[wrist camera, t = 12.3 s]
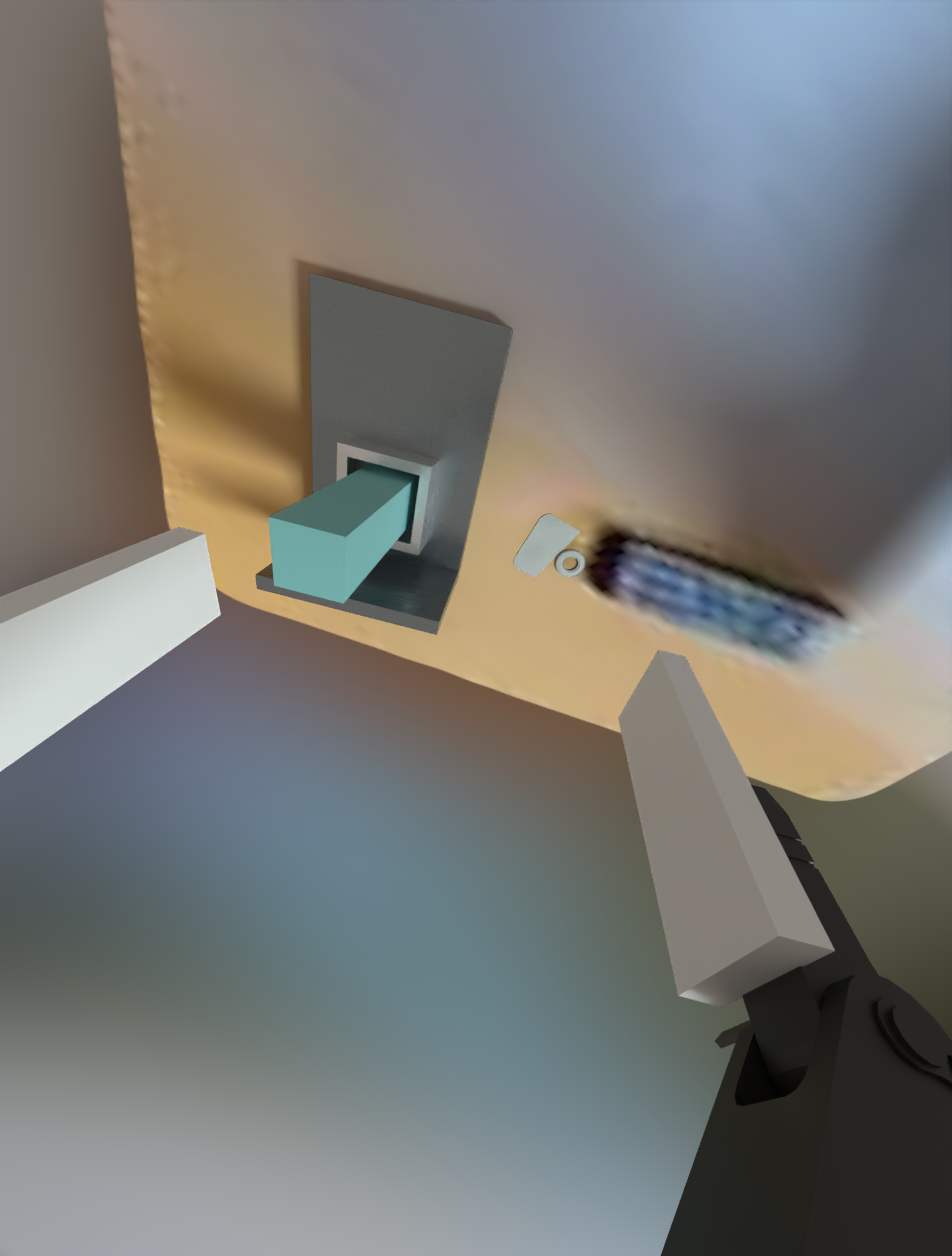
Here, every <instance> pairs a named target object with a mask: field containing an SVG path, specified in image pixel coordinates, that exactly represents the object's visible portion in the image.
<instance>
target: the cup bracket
mask: <svg viewBox="0 0 952 1256" xmlns="http://www.w3.org/2000/svg"><path fill="white" fill-rule="evenodd" d="M512 332H513V329H512V328H510V327H506V326H503V325H499V324H495V323H492V322H488V321H484V320H481V319H477V318H473V317H470V316H466V315H462V314H459V313H455V312H451V311H448V310H444V309H440V308H437V307H433V306H429V305H426V304H422V303H419V302H415V301H411V300H408V299H404V298H400V297H397V296H393V295H389V294H386V293H382V292H378V291H375V290H371V289H367V288H364V287H360V286H356V285H353V284H349V283H345V282H342V281H338V280H335V279H331V278H327V277H324V276H320V275H316V274H313V273H310V337H311V413H312V488H313V493H315V492H317V491H319V490H321V489H323V488H325V487H327V486H329V485H331V484H333V483H334V482H336V481H338V480H340V479H342V478H344V477H346V476H348V475H350V474H352V473H354V472H356V471H357V470H359V469H361V468H363V467H365V466H367V465H369V464H371V463H374V464H377V465H381V466H385V467H389V468H393V469H396V470H400V471H404V472H408V473H411V474H415V475H419V477H418V485H417V492H416V499H415V507H414V514H413V522H412V523H411V524H410V525H409V526H408V528H407V529H406V530H405V531H404V532H403V534H402V535H401V536H400V537H399V538H398V539H397V541H396V542H395V543H394V544H393V545H392V547H391V548H390V549H389V550H388V551H387V553H386V554H385V555H384V556H383V557H382V558H381V560H380V561H379V562H378V563H377V564H376V566H375V567H374V568H373V569H372V570H371V572H370V573H369V574H368V575H367V576H366V577H365V579H364V580H363V581H362V582H361V583H360V585H359V586H358V587H357V588H356V589H355V591H354V592H353V593H352V594H351V595H350V597H349V598H348V599H347V600H346V601H345V602H344V604H343V603H339V602H336V601H332V600H328V599H324V598H320V597H316V596H312V595H308V594H304V593H301V592H297V591H293V590H289V589H285V588H281V587H277V586H274V579H273V566H272V563H271V564H270V565H268V566H267V567H266V568H264V569H263V570H261V571H260V572H259V573H257V574H256V584H257V589H260V590H264V591H268V592H272V593H276V594H280V595H284V596H288V597H291V598H295V599H299V600H303V601H307V602H311V603H315V604H319V605H323V606H326V607H330V608H334V609H338V610H342V611H346V612H350V613H354V614H358V615H361V616H365V617H369V618H373V619H377V620H381V621H385V622H389V623H393V624H396V625H400V626H404V627H408V628H412V629H416V630H420V631H424V632H428V633H431V634H435V635H437V633H438V630H439V627H440V625H441V622H442V619H443V617H444V614H445V611H446V609H447V606H448V603H449V601H450V598H451V595H452V593H453V590H454V587H455V585H456V583H457V580H458V577H459V572H460V568H461V563H462V559H463V554H464V550H465V545H466V541H467V536H468V531H469V527H470V522H471V518H472V513H473V509H474V504H475V500H476V495H477V491H478V486H479V482H480V477H481V473H482V468H483V463H484V459H485V454H486V450H487V445H488V441H489V436H490V432H491V427H492V423H493V418H494V414H495V409H496V405H497V400H498V396H499V391H500V386H501V382H502V377H503V373H504V368H505V364H506V359H507V355H508V350H509V346H510V341H511V337H512Z"/></svg>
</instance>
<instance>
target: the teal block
mask: <svg viewBox="0 0 952 1256" xmlns="http://www.w3.org/2000/svg"><path fill="white" fill-rule="evenodd" d="M418 477H419V475H415V474H411V473H408V472H404V471H400V470H396V469H393V468H389V467H385V466H381V465H377V464H374V463H371V464H369V465H367V466H365V467H363V468H361V469H359V470H357V471H356V472H354V473H352V474H350V475H348V476H346V477H344V478H342V479H340V480H338V481H336V482H334V483H333V484H331V485H329V486H327V487H325V488H323V489H321V490H319V491H317V492H315V493H313V494H312V495H310V496H308V497H306V498H304V499H302V500H300V501H298V502H296V503H294V504H292V505H290V506H289V507H287V508H285V509H283V510H281V511H279V512H277V513H275V514H273V515H271V516H269V528H270V541H271V553H272V566H273V579H274V586H277V587H281V588H285V589H289V590H293V591H297V592H301V593H304V594H308V595H312V596H316V597H320V598H324V599H328V600H332V601H336V602H339V603H343V604H344V602H345V601H346V600H347V599H348V598H349V597H350V595H351V594H352V593H353V592H354V591H355V589H356V588H357V587H358V586H359V585H360V583H361V582H362V581H363V580H364V579H365V577H366V576H367V575H368V574H369V573H370V572H371V570H372V569H373V568H374V567H375V566H376V564H377V563H378V562H379V561H380V560H381V558H382V557H383V556H384V555H385V554H386V553H387V551H388V550H389V549H390V548H391V547H392V545H393V544H394V543H395V542H396V541H397V539H398V538H399V537H400V536H401V535H402V534H403V532H404V531H405V530H406V529H407V528H408V526H409V525H410V524H411V523H412V522H413V514H414V507H415V499H416V492H417V485H418Z"/></svg>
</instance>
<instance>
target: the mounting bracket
mask: <svg viewBox="0 0 952 1256" xmlns="http://www.w3.org/2000/svg"><path fill="white" fill-rule="evenodd" d="M579 533H580V531H578V530H577V529H575V528H573V527H572V526H570V525H568V524H567V523H565V522H563V521H562V520H560V519H558V518H557V517H555V516H553V515H552V514H546V515H544V516H542V517H541V518H540V519H539V521H538V522H537V524H536V525H535V527H534V529H533V530H532V532H531V533H530V535H529V536H528V538H527V539H526V541H525V542H524V544H523V546H522V547H521V549H520V550H519V552H518V553H517V555H516V556H515V559H514V565H515V567H516V568H518V569H519V570H521V571H523V572H525V573H527V574H528V575H530V576H532V577H534V578H535V577H536V576H537V575H538V574H539V573H540V572H541V571H542V570H543V569H544V568H545V567H546V566H547V565H548V564H549V563H550V562H551V561H552V560H553V559H554V558H555V557H556V556H557V555H558V554H559V553H560V552H561V551H562V550H563V549H564V548H565V547H566V546H567V545H568V544H569V543H570V542H571V541H572V540H573V539H574V538H575V537H576V536H577V535H578V534H579ZM568 557H574V558H576V559H577V561H578V565H577V567H576V568H575V569H573V570H567V569H565V568H564V567H563V562H564V560H565V559H566V558H568ZM555 567H556V569H557V571H558V572H559V573H560V574H561V575H563V576H566V577H573V576H576V575H578V574H579V573H580V572H582V571H583V569H584V567H585V557H584V555H583V554H582V553H581V552H580V551H578V550H575V549H568V550H565V551H563V552H561V553H560V554H559V555H558V557H557V559H556V561H555Z"/></svg>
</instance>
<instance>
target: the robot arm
mask: <svg viewBox="0 0 952 1256" xmlns="http://www.w3.org/2000/svg"><path fill="white" fill-rule="evenodd" d="M219 615H220V609H219V604H218V599H217V594H216V588H215V583H214V578H213V573H212V568H211V563H210V558H209V553H208V548H207V543H206V537H205V534H204V533H200V532H197V531H193V530H189V529H185V528H181V527H178V528H175V529H172V530H170V531H168V532H165V533H162V534H160V535H157V536H155V537H152V538H150V539H147V540H144V541H142V542H139V543H137V544H134V545H132V546H129V547H127V548H124V549H121V550H119V551H116V552H114V553H111V554H109V555H106V556H104V557H101V558H98V559H96V560H93V561H91V562H88V563H86V564H83V565H81V566H78V567H75V568H73V569H70V570H68V571H65V572H63V573H60V574H58V575H55V576H53V577H50V578H47V579H45V580H43V581H40V582H37V583H35V584H32V585H30V586H27V587H24V588H22V589H20V590H17V591H14V592H12V593H9V594H7V595H4V596H2V597H0V771H2V770H3V769H4V768H6V767H7V766H9V765H10V764H11V763H13V762H14V761H16V760H17V759H19V758H20V757H21V756H23V755H24V754H25V753H27V752H28V751H30V750H31V749H33V748H34V747H35V746H37V745H38V744H40V743H41V742H42V741H44V740H45V739H47V738H48V737H49V736H51V735H52V734H54V733H55V732H56V731H58V730H59V729H61V728H62V727H63V726H65V725H66V724H68V723H69V722H70V721H72V720H73V719H75V718H76V717H77V716H79V715H80V714H82V713H83V712H85V711H86V710H87V709H89V708H90V707H92V706H93V705H94V704H96V703H97V702H99V701H100V700H101V699H103V698H104V697H106V696H107V695H108V694H110V693H111V692H112V691H114V690H115V689H117V688H118V687H120V686H121V685H122V684H124V683H125V682H127V681H128V680H129V679H131V678H132V677H134V676H135V675H136V674H138V673H139V672H141V671H142V670H144V669H145V668H146V667H148V666H149V665H151V664H152V663H153V662H155V661H156V660H158V659H159V658H160V657H162V656H163V655H165V654H166V653H167V652H169V651H170V650H172V649H173V648H174V647H176V646H177V645H179V644H180V643H181V642H183V641H184V640H186V639H187V638H189V637H190V636H191V635H193V634H194V633H196V632H197V631H198V630H200V629H201V628H203V627H204V626H205V625H207V624H208V623H210V622H211V621H212V620H214V619H215V618H217V617H218V616H219ZM618 719H619V723H620V728H621V732H622V737H623V742H624V746H625V750H626V756H627V760H628V765H629V769H630V774H631V779H632V783H633V787H634V792H635V797H636V802H637V806H638V811H639V815H640V820H641V825H642V830H643V834H644V839H645V843H646V848H647V853H648V857H649V861H650V867H651V871H652V876H653V880H654V885H655V889H656V894H657V899H658V903H659V908H660V912H661V917H662V922H663V927H664V931H665V936H666V940H667V945H668V950H669V955H670V959H671V963H672V968H673V973H674V978H675V982H676V987H677V991H678V996H682V997H685V998H689V999H693V1000H696V1001H700V1002H704V1003H707V1004H711V1005H715V1006H718V1007H724V1006H726V1005H728V1004H730V1003H732V1002H734V1001H736V1000H738V999H740V998H742V997H743V999H744V1002H745V1005H746V1009H747V1012H748V1014H749V1018H750V1020H749V1021H746V1022H744V1023H742V1024H739V1025H737V1026H735V1027H733V1028H730V1029H728V1030H726V1031H723V1032H722V1033H721V1034H720V1035H719V1037H718V1038H717V1039H716V1040H715V1042H716V1043H717V1044H718V1045H719V1046H720V1048H723V1047H726V1046H729V1045H731V1044H734V1043H736V1044H735V1046H734V1049H733V1052H732V1055H731V1058H730V1061H729V1063H728V1066H727V1069H726V1072H725V1075H724V1077H723V1080H722V1083H721V1086H720V1089H719V1092H718V1094H717V1098H716V1100H715V1103H714V1106H713V1109H712V1111H711V1114H710V1117H709V1120H708V1123H707V1126H706V1129H705V1131H704V1134H703V1137H702V1140H701V1143H700V1146H699V1148H698V1151H697V1154H696V1157H695V1160H694V1163H693V1166H692V1168H691V1171H690V1174H689V1177H688V1180H687V1182H686V1185H685V1188H684V1191H683V1194H682V1197H681V1199H680V1202H679V1205H678V1208H677V1211H676V1214H675V1216H674V1219H673V1222H672V1225H671V1228H670V1231H669V1234H668V1237H667V1239H666V1242H665V1245H664V1248H663V1251H662V1253H661V1256H952V1040H951V1039H950V1038H949V1037H948V1035H947V1034H946V1033H945V1031H944V1030H943V1029H942V1028H941V1026H940V1025H939V1024H938V1022H937V1021H936V1020H935V1018H934V1017H933V1016H931V1014H930V1013H928V1011H926V1010H925V1009H924V1008H923V1007H922V1006H921V1005H920V1004H919V1003H918V1002H917V1001H916V1000H915V999H914V998H913V997H912V996H911V995H910V994H908V993H907V992H906V991H904V990H902V989H901V988H900V987H898V986H897V985H895V984H894V983H893V982H891V981H890V980H888V979H886V978H883V977H881V976H879V975H878V974H877V972H876V971H875V969H874V967H873V966H872V964H871V963H870V961H869V959H868V958H867V956H866V954H865V952H864V950H863V948H862V947H861V945H860V943H859V941H858V940H857V938H856V936H855V934H854V932H853V931H852V929H851V927H850V925H849V924H848V922H847V920H846V918H845V916H844V915H843V913H842V911H841V909H840V907H839V906H838V904H837V902H836V900H835V898H834V897H833V895H832V893H831V891H830V890H829V888H828V886H827V884H826V882H825V881H824V879H823V877H822V875H821V873H820V872H819V870H818V869H816V868H814V861H813V859H812V857H811V856H810V854H809V852H808V850H807V848H806V847H805V846H804V845H802V844H801V841H802V840H801V838H800V836H799V834H798V832H797V831H796V829H795V827H794V825H793V823H792V822H791V820H790V818H789V816H788V815H787V813H786V812H785V811H784V810H783V808H782V807H781V806H780V805H779V804H778V803H777V802H776V801H775V799H774V798H773V797H772V796H771V795H770V794H769V793H768V792H767V790H766V789H765V788H762V787H758V786H754V785H750V783H749V781H748V779H747V777H746V775H745V773H744V771H743V769H742V767H741V765H740V763H739V761H738V759H737V757H736V755H735V753H734V751H733V749H732V747H731V745H730V743H729V741H728V739H727V737H726V735H725V734H724V732H723V730H722V728H721V726H720V724H719V722H718V720H717V718H716V716H715V714H714V712H713V710H712V708H711V706H710V704H709V702H708V700H707V698H706V696H705V694H704V692H703V690H702V688H701V686H700V684H699V682H698V681H697V679H696V677H695V675H694V673H693V671H692V669H691V667H690V665H689V663H688V661H687V659H686V657H685V656H681V655H677V654H673V653H669V652H665V651H661V650H658V651H657V653H656V655H655V656H654V658H653V660H652V661H651V663H650V665H649V666H648V668H647V670H646V672H645V673H644V675H643V677H642V678H641V680H640V682H639V684H638V685H637V687H636V689H635V690H634V692H633V694H632V696H631V697H630V699H629V701H628V702H627V704H626V706H625V707H624V709H623V711H622V713H621V714H620V716H619V718H618Z"/></svg>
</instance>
